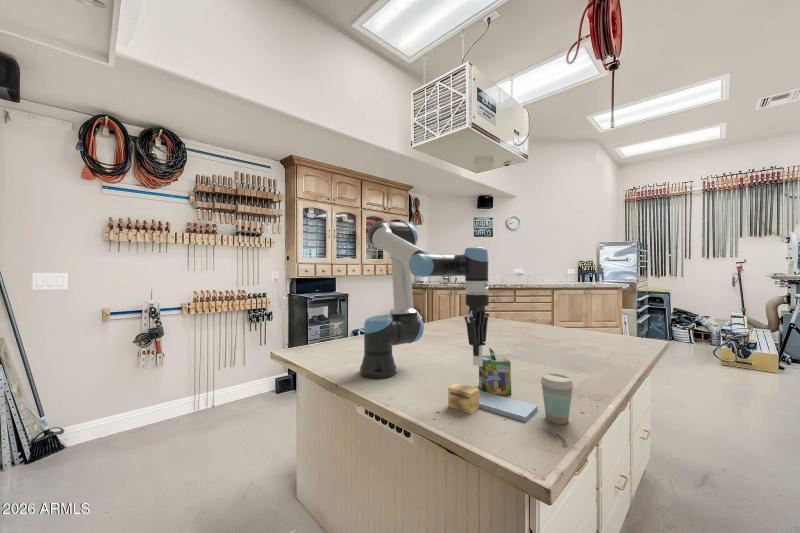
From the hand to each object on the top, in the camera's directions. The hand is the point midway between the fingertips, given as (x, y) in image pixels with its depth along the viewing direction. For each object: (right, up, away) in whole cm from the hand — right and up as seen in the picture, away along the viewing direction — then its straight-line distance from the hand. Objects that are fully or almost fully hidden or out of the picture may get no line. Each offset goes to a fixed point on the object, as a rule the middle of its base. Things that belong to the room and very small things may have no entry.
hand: (477, 365), depth 106 cm
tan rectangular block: (-6, -11, -7) cm, 14 cm away
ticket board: (+4, -11, -4) cm, 13 cm away
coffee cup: (+19, -12, -14) cm, 26 cm away
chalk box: (+8, -12, +8) cm, 16 cm away
